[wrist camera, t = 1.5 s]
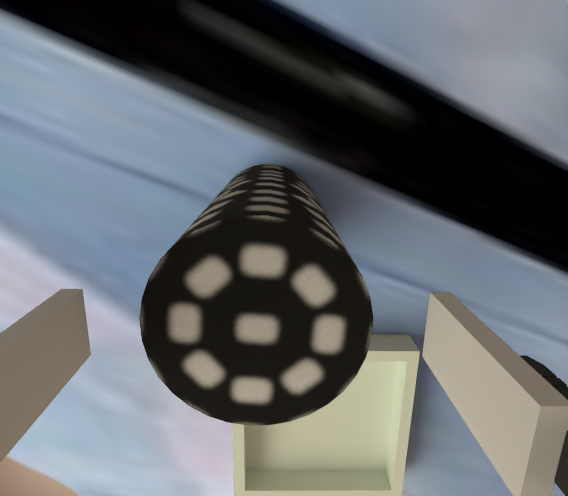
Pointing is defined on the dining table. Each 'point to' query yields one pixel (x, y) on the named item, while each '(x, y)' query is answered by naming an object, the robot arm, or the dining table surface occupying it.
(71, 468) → the dining table surface
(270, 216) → the spotted tube
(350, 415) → the tray
